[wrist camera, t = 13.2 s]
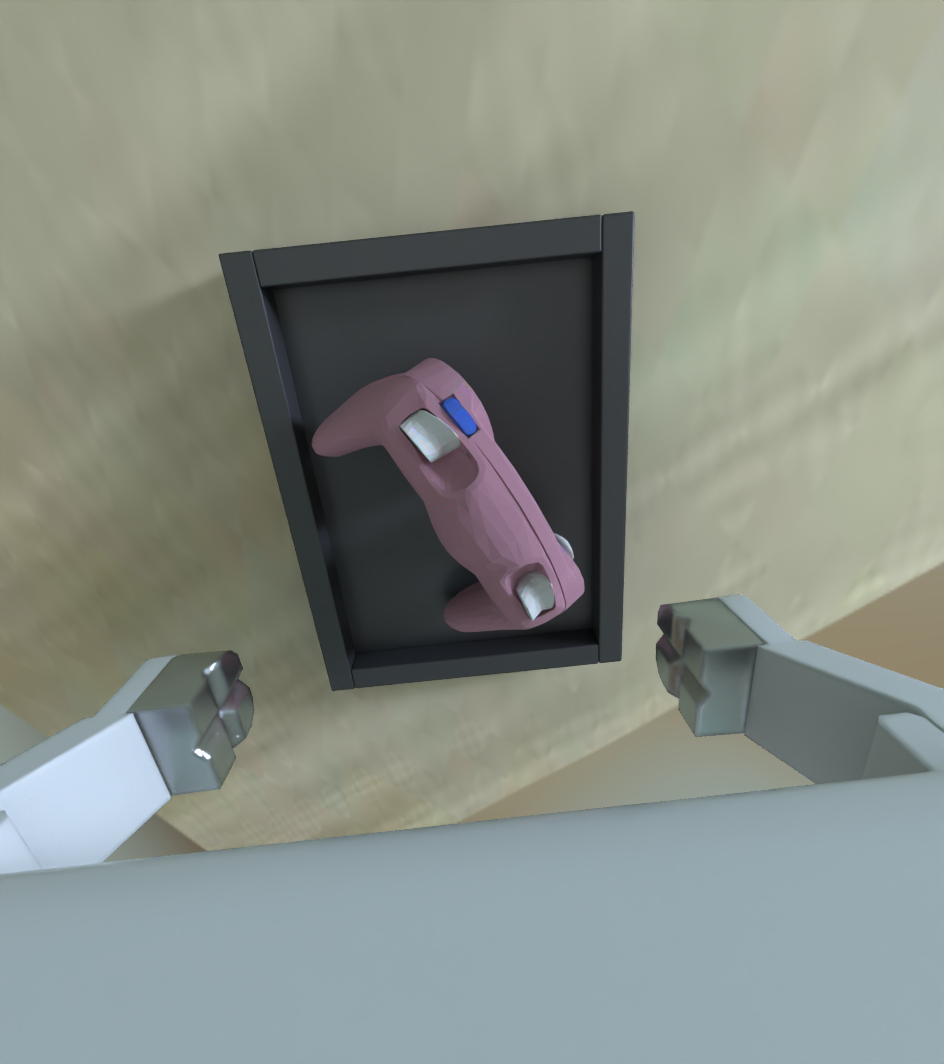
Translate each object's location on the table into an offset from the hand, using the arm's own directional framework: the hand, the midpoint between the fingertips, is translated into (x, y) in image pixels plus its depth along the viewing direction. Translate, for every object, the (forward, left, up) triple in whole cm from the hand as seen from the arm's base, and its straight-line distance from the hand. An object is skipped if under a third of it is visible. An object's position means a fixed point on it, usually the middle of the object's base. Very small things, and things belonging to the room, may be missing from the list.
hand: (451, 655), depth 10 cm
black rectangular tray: (0, 0, -11) cm, 11 cm away
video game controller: (0, 0, -11) cm, 11 cm away
